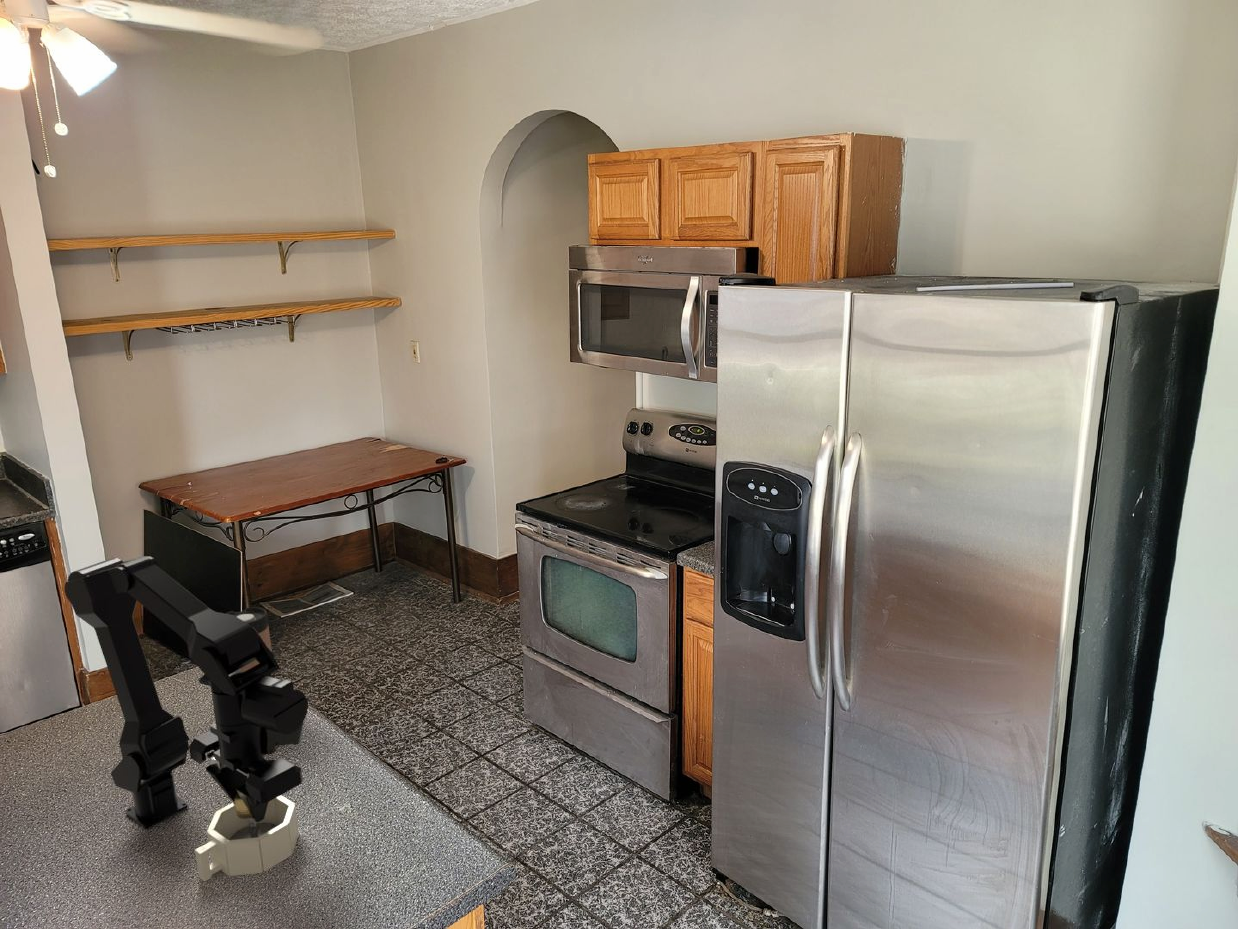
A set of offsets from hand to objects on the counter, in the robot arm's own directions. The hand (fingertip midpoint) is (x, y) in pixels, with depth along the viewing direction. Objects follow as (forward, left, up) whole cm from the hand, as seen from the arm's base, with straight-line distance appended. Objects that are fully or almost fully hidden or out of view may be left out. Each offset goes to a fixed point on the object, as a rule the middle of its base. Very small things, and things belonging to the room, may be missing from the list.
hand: (251, 815), depth 125 cm
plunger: (0, 0, -5) cm, 5 cm away
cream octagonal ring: (0, -1, -5) cm, 6 cm away
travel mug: (-32, +20, -6) cm, 38 cm away
